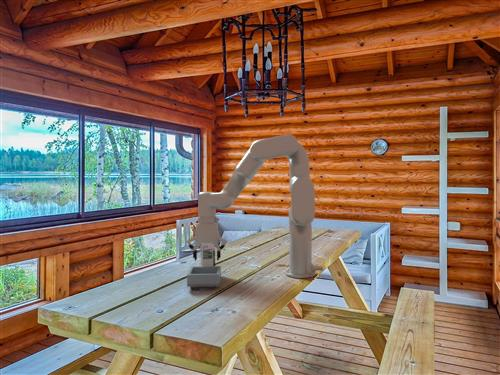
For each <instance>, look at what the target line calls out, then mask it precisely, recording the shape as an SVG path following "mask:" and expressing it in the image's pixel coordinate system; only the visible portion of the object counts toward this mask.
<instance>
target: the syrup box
mask: <svg viewBox="0 0 500 375" xmlns="http://www.w3.org/2000/svg"><path fill="white" fill-rule="evenodd" d="M199 256H200V257H199V258H200V259H199V260H200V262H199V264H200V266H216V247H215V245H214V244H213V243H202V247H199Z"/></svg>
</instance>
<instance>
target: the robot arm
mask: <svg viewBox="0 0 500 375" xmlns="http://www.w3.org/2000/svg"><path fill="white" fill-rule="evenodd" d="M281 157H286V159H287V161H288V166H289V167H288V168H289V169H288V170H289V185H288V186H289V188H288V189H289V192H290V207H289V209H288V224H289V226H288V228H289V230H288V232H289V235H288V236H289V240H288V242H289V243H288V244H289V245H288V246H289V248H288V250H289V254H288V256H289V257H288V258H289V268H288V269H287V270H286V271H285V275H286V276H288V277H290V278H295V279H297V278H298V279H307V278H313V277H314V276H316V271H324V269H323V268H324V266H323V265H318V264H313V263H312V258H313V257H312V255H313V254H312V252H313V251H312V250H313V249H312V248H313V246H312V245H313V244H312V243H313V242H312V239H313V238H312V237H313V236H312V235H313V234H312V233H313V232H312V223H313V222H314V219H315V216H316V215H315V214H316V213H315V212H316V192H315V185H314V183H313V181H312V179H311V173H310V172H311V171H310V160H309V154H308V152H307V150H306V149H305V147H304V146H303V145H302V144H301V143H300V142H299V141H298V138H296V136H294V135H293V134H290V133H286V134H281V135H277V136H272V137H266V138H263V139H257V140H255V141H254V142H252V143H251V145H250V148H249V149H248V151H247V152H246V153H245V155H244V156H243V157H242V158H241V160H240V161H239V163H238V164H237V166H236V167H235V169H234V170H233V172H232V175H231V177H230V178H229V180H228V181H227V183H226V185H225V186H224V187H223V188H222V189H221V191H220V192H214V191H200V192H199V193H198V195H197V196H198V197H197V203H198V205H197V207H198V208H197V218H198V219H197V220H198V221H197V223H196V226H195V232H194V234H195V235H194V236H193V237H191V238H188V239H187V240H186V243H187V245H188V248H189V249H190V250H191V251H192V258H193V259H194V261H197V259H198V250H197V249H198V248H200V247H202V243H213V244H214V245H215V249H216V260H217V261H219V260H220V259H221V253H222V252H221V251H222V250H223V249H224V248H225V247H226V246H227V243H228V240H227V239H225V238H223V237H221V236H220V235H219V234H220V233H219V224H218V223H217V222H219V221H220V218H219V217H217V212H216V211H217V209H218V210H223V211H224V210H228V209H230V208H231V207H232V205H233V204H234V203H235V201H236V200H237V199H238V197H239V196H240V194H241V193H242V191H243V190H244V189H245V188H246V187H247V186H248V185H249V183H251V181H252V180H253V179H254V177H255V176H256V174H257V173H258V172H259V170H260V169H261V168H262V166H263V165H264V164H265V162H266V161H267V160H273V159H277V158H281ZM192 242H194V245H193V244H192ZM220 242H222V244H221V245H219V243H220Z"/></svg>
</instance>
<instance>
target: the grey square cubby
mask: <svg viewBox="0 0 500 375" xmlns="http://www.w3.org/2000/svg"><path fill="white" fill-rule="evenodd" d="M221 271H222V267H221V265H215V266H201V265H200V266H190V268H189V270H188V272H187V274H186V288H188V287H189V288H190V289H191V290H192V291H194V290H196V287H211V289H212V290H216V289H217V288H218V287H220V284H221V278H222V274H221Z"/></svg>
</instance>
